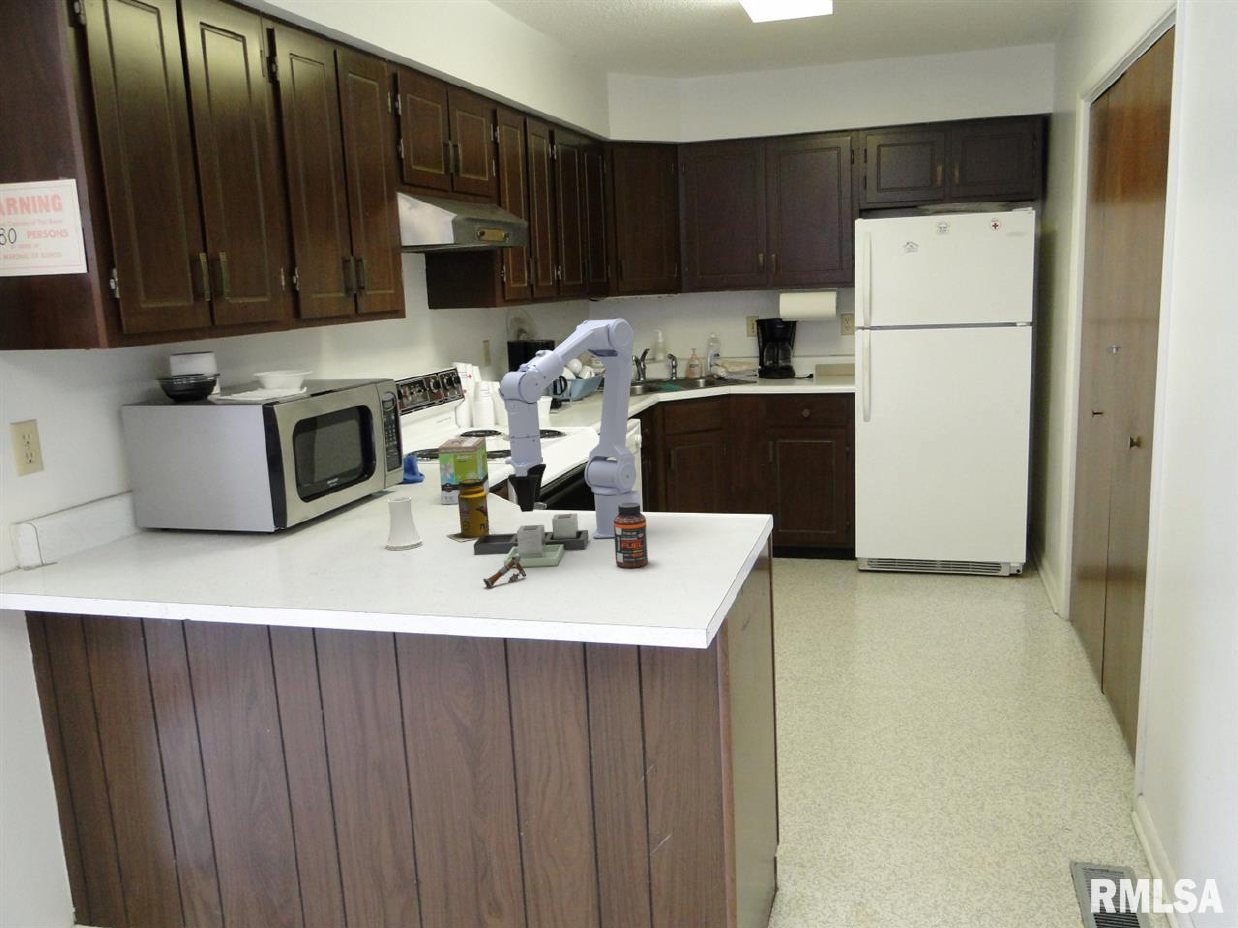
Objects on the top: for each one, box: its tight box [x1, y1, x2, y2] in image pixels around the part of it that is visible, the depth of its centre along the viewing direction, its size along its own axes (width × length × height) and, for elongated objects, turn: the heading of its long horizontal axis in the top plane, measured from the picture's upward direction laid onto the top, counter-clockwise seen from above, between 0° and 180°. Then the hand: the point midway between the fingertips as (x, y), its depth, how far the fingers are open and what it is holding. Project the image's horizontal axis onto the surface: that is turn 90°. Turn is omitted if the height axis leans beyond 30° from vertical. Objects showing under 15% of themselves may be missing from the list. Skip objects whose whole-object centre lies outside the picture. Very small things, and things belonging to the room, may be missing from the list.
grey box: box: [516, 524, 546, 559], centre depth 189 cm, size 4×4×6 cm
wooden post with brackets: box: [482, 555, 527, 589], centre depth 175 cm, size 2×8×4 cm, turn 128°
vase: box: [384, 496, 423, 551], centre depth 206 cm, size 8×8×10 cm
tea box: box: [438, 436, 490, 505], centre depth 252 cm, size 15×10×15 cm
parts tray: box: [503, 545, 565, 569], centre depth 189 cm, size 10×10×2 cm
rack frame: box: [473, 529, 589, 555], centre depth 199 cm, size 22×8×2 cm, turn 86°
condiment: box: [446, 479, 496, 543], centre depth 211 cm, size 7×8×12 cm
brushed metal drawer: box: [551, 513, 579, 540], centre depth 198 cm, size 4×4×6 cm
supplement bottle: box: [614, 502, 649, 569], centre depth 181 cm, size 6×6×11 cm
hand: (530, 506), depth 187 cm, fingers open, 7 cm apart
